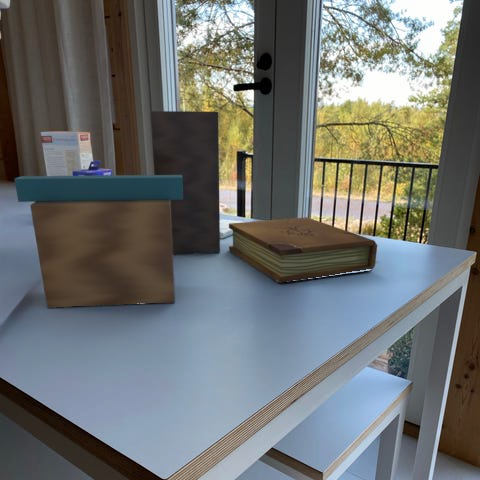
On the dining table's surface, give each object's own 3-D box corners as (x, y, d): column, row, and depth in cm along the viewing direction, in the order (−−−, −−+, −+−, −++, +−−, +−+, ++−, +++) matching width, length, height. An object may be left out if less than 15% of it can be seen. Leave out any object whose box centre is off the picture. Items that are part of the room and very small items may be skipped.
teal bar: (18, 201, 63) (13, 178, 62) (24, 198, 66) (20, 176, 65) (183, 199, 66) (182, 177, 65) (182, 196, 69) (181, 174, 68)
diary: (374, 272, 84) (378, 240, 81) (279, 284, 77) (281, 250, 75) (308, 242, 103) (310, 216, 101) (228, 250, 97) (228, 222, 94)
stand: (159, 254, 94) (150, 111, 83) (160, 244, 101) (152, 111, 91) (220, 253, 95) (218, 111, 85) (216, 243, 102) (214, 112, 92)
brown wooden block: (47, 308, 67) (29, 204, 61) (59, 289, 74) (45, 195, 69) (174, 303, 69) (169, 202, 64) (174, 285, 77) (170, 193, 71)
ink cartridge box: (92, 220, 124) (85, 162, 118) (76, 218, 126) (68, 161, 120) (117, 214, 132) (111, 159, 126) (101, 212, 134) (95, 158, 128)
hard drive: (248, 229, 116) (223, 239, 106) (220, 225, 119) (192, 235, 109) (249, 222, 115) (223, 232, 105) (220, 219, 119) (192, 228, 109)
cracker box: (98, 203, 148) (90, 131, 139) (85, 206, 142) (76, 132, 134) (64, 200, 153) (54, 130, 145) (50, 203, 148) (39, 131, 139)
